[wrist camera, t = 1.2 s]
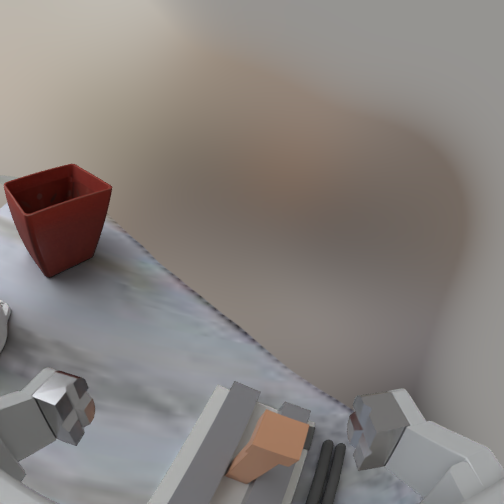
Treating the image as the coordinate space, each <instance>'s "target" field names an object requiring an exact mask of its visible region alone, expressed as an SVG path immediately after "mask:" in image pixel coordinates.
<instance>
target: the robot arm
mask: <svg viewBox="0 0 504 504" xmlns="http://www.w3.org/2000/svg"><path fill="white" fill-rule="evenodd" d="M10 313H11V309H10V307H9V305H8V304H6V303H5V302H3V301H2V300H0V352H1V351H2V349H3V347H4V345H5V342H6V338H7V321H8V319H9V316H10ZM87 390H88V385H87V383H86V380H85V379H83V378H82V377H78V376H75V375H72V374H69V373H65V372H62V371H58V370H55V369H52V368H49V367H48V368H44V369H43V370H42V371H41V372H40V373H39V374H38V375H37V376H36V377H35V378H34V379H33V380H32V381H31V382H30V383H29V384H28V385H27V386H26V387H25V388H24V389H23V390H22V391H21V392H20V391H15V392H12V393H9V394H6V395H2V396H0V504H59V503H57V502H55V501H53V500H51V499H49V498H47V497H45V496H43V495H42V494H40V493H38V492H36V491H35V490H33V489H31V488H30V487H28V486H26V485H25V484H23V483H21V481H22V480H23V478H24V477H25V475H26V473H25V470H24V469H23V468H22V467H21V465H20V464H19V463H18V462H19V461H20V460H22V459H24V458H26V457H28V456H29V455H31V454H33V453H35V452H36V451H38V450H40V449H42V448H43V447H45V446H47V445H49V444H50V443H52V442H54V441H55V440H56V439H59V440H61V441H64V442H66V443H69V444H72V445H75V446H77V444H78V443H79V441H80V440H81V438H82V436H83V435H84V433H85V432H84V427H85V426H87V425H89V424H90V423H91V422H92V420H93V418H94V414H95V404H94V401H93V399H92V397H91V396H90V395H89V394H88V393H87ZM353 407H354V410H355V412H353V413H352V414H351V415H350V416H349V420H348V423H347V435H348V440H349V443H350V445H352V446H353V447H355V448H356V449H355V451H354V454H353V456H354V459H355V462H356V466H357V469H358V471H361V470H367V469H372V468H378V467H383V466H385V468H386V469H387V470H389V471H390V472H391V473H392V474H394V475H395V476H396V477H397V478H399V479H400V480H401V481H402V482H404V483H405V484H406V485H408V486H409V487H410V488H411V489H413V490H414V491H415V492H417V493H418V494H419V495H421V496H422V497H423V498H424V499H423V500H422V501H421V502H420V503H419V504H504V469H503V467H502V466H501V464H500V463H499V461H498V460H497V458H496V457H495V456H494V454H493V453H492V451H491V450H490V448H489V447H487V446H484V445H482V444H480V443H477V442H475V441H473V440H470V439H468V438H466V437H464V436H462V435H460V434H458V433H455V432H453V431H451V430H449V429H447V428H445V427H443V426H441V425H438V424H436V423H434V422H432V421H427V422H426V420H425V419H424V417H423V415H422V414H421V412H420V411H419V409H418V407H417V406H416V404H415V403H414V401H413V400H412V398H411V397H410V395H409V394H408V392H407V391H406V390H405V389H403V388H402V389H396V390H391V391H388V392H380V393H373V394H366V395H359V396H357V397H356V398H355V400H354V403H353Z"/></svg>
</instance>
